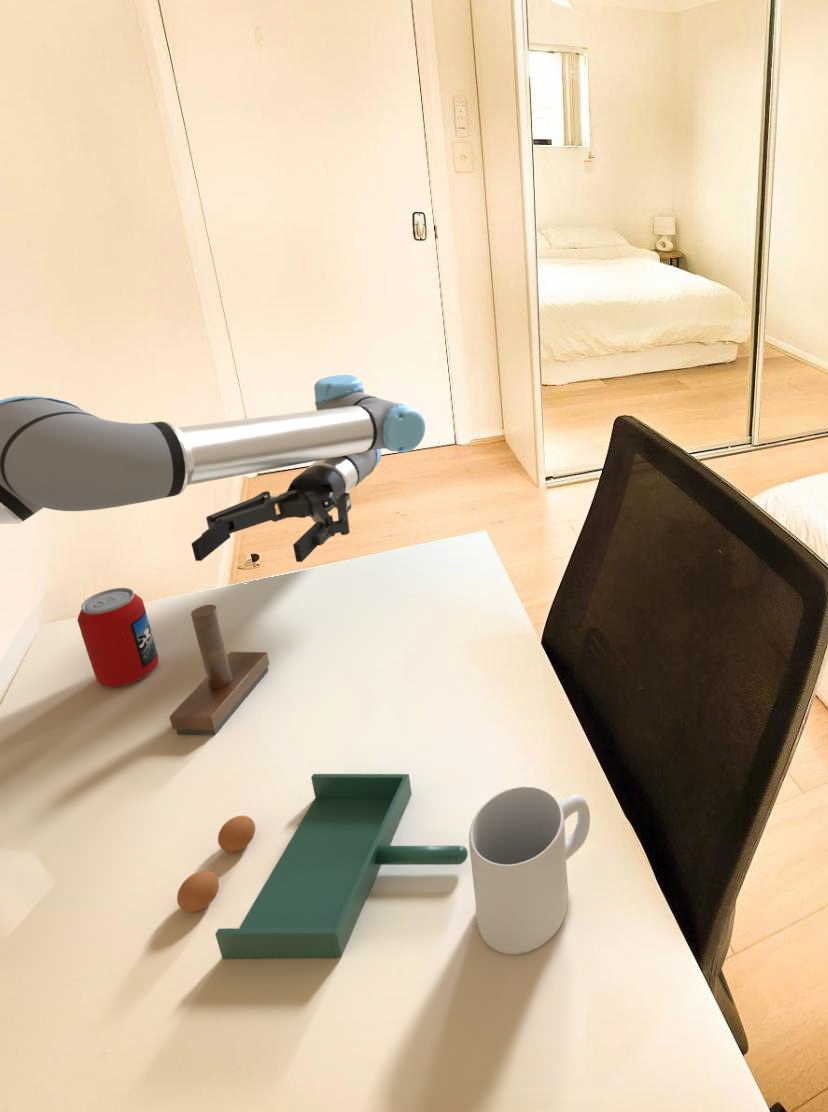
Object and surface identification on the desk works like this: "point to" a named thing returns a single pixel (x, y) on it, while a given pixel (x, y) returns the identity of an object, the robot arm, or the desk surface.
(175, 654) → the desk surface
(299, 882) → the dustpan
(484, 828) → the mug
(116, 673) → the beverage can
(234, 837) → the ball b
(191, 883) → the brown egg
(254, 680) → the brush
